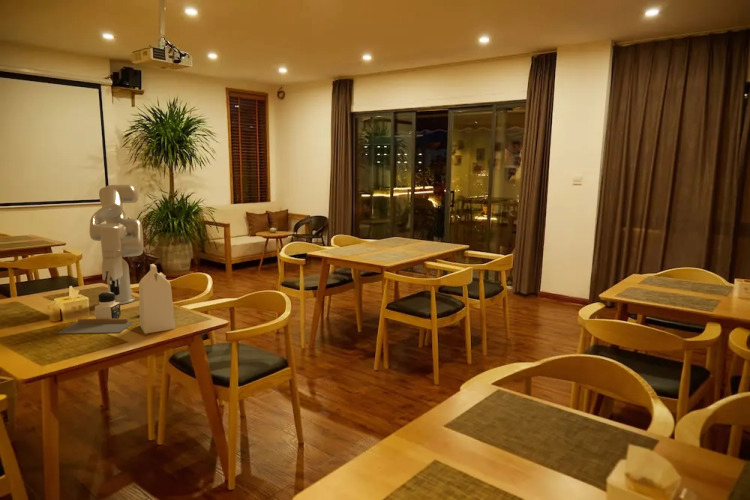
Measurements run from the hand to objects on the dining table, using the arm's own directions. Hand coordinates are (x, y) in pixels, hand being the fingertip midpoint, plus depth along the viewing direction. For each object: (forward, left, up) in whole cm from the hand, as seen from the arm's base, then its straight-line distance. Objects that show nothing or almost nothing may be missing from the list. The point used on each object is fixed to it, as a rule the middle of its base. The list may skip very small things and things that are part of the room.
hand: (115, 294), depth 217 cm
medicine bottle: (+8, 0, -9) cm, 12 cm away
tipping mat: (+18, 0, -9) cm, 21 cm away
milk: (+18, +24, -9) cm, 31 cm away
